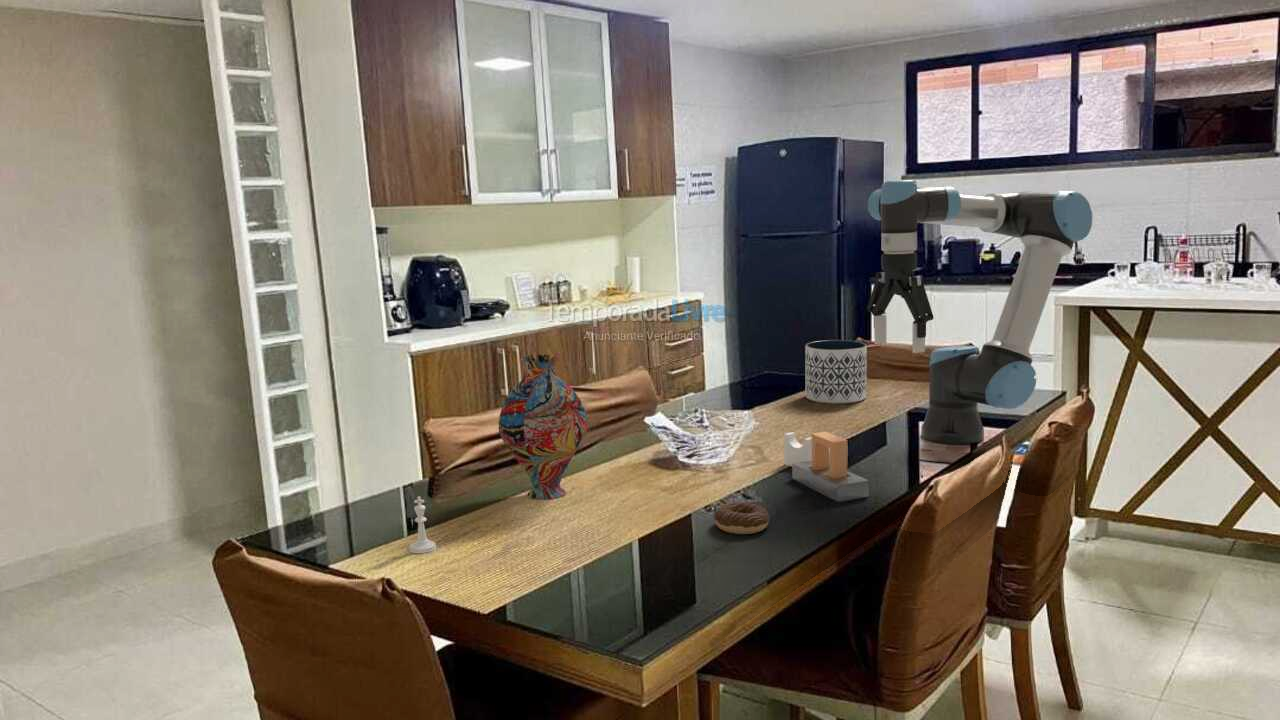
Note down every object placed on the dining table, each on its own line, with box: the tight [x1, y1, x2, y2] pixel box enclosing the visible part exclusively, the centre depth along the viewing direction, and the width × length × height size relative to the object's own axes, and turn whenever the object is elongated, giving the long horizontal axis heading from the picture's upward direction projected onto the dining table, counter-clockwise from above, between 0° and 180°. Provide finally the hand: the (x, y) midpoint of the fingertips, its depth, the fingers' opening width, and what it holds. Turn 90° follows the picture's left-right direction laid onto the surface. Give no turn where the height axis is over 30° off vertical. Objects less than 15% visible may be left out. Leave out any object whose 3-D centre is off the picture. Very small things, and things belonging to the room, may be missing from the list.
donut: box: [713, 501, 771, 535], centre depth 183 cm, size 11×11×4 cm
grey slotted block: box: [791, 461, 870, 503], centre depth 205 cm, size 8×18×4 cm, turn 22°
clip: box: [811, 431, 849, 479], centre depth 204 cm, size 4×8×10 cm, turn 22°
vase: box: [498, 353, 588, 501], centre depth 204 cm, size 19×19×30 cm
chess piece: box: [408, 496, 437, 554], centre depth 176 cm, size 5×5×10 cm
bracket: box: [783, 431, 830, 467], centre depth 224 cm, size 13×7×8 cm, turn 129°
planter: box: [804, 339, 868, 405], centre depth 290 cm, size 18×18×16 cm
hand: (899, 348), depth 212 cm, fingers open, 13 cm apart
